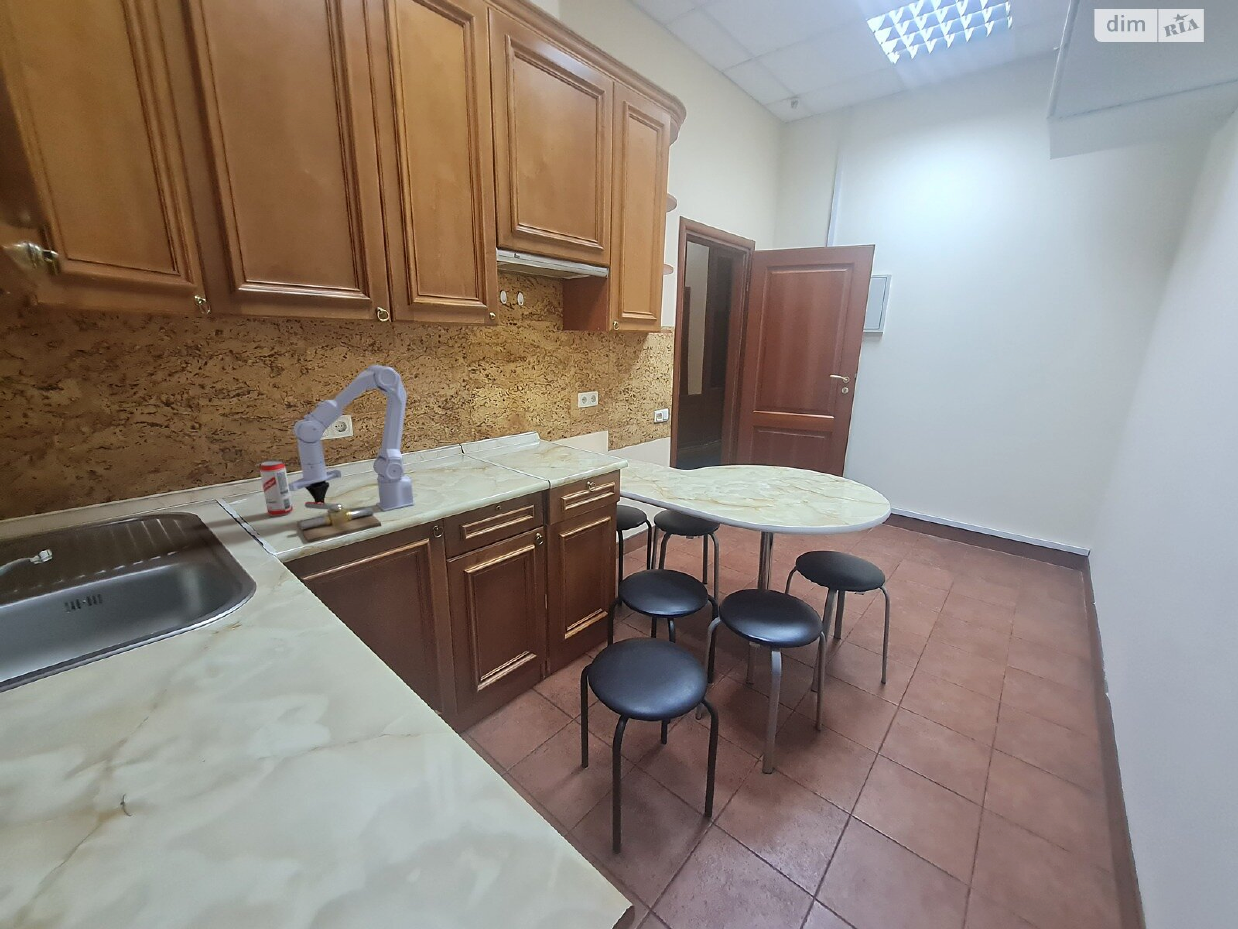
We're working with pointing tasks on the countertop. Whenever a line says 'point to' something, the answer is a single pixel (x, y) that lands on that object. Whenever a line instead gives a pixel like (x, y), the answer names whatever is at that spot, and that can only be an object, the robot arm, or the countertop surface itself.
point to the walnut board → (339, 528)
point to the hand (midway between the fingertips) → (320, 507)
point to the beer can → (276, 488)
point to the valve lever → (323, 506)
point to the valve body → (336, 518)
